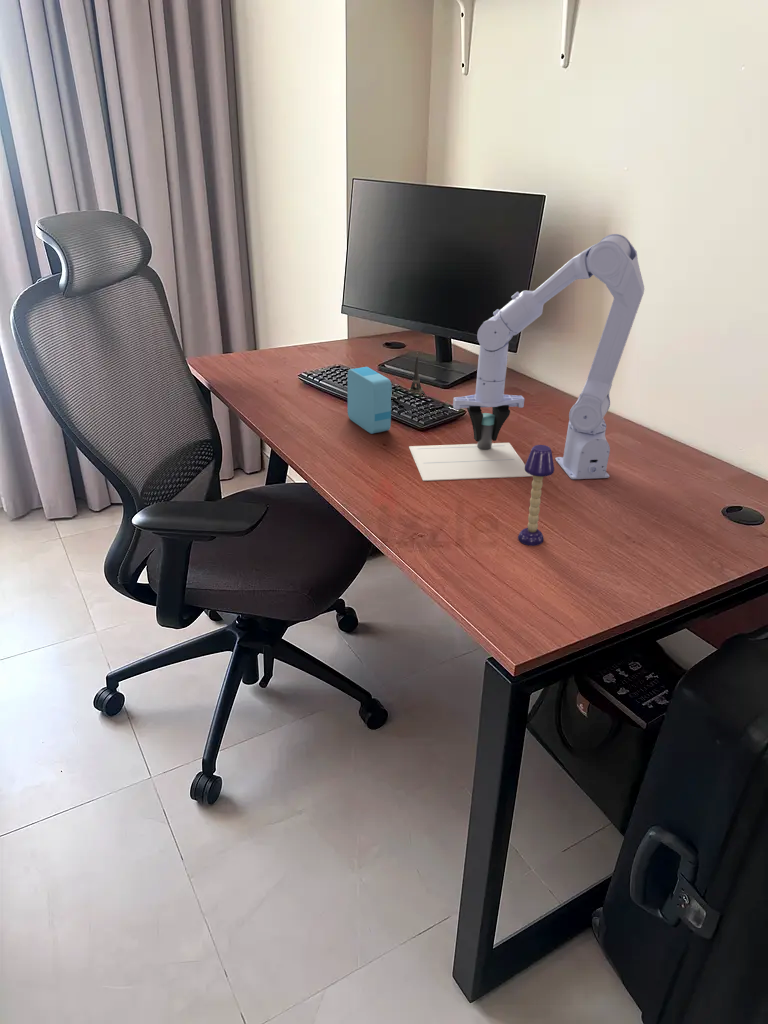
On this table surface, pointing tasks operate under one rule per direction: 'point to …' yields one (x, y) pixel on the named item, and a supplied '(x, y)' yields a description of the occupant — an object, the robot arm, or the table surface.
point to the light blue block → (369, 399)
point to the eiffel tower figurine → (416, 379)
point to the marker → (486, 431)
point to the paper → (467, 462)
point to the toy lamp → (536, 491)
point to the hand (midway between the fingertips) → (485, 439)
